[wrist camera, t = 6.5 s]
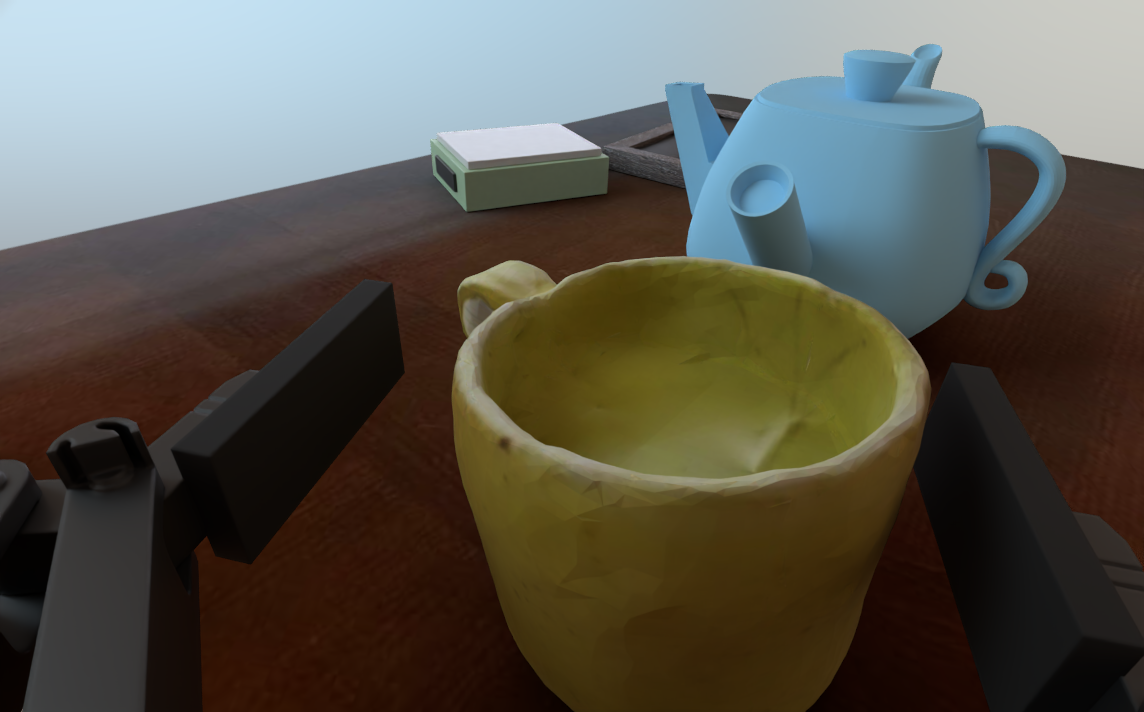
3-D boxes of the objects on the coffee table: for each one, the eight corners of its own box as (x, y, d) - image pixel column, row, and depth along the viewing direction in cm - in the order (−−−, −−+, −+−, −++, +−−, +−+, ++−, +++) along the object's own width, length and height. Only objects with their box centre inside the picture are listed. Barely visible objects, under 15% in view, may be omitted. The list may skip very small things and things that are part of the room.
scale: (463, 212, 40) (460, 164, 38) (430, 174, 46) (426, 132, 44) (607, 193, 43) (609, 149, 42) (559, 160, 49) (560, 121, 48)
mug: (1035, 613, 15) (1055, 222, 10) (687, 938, 12) (467, 641, 7) (703, 403, 25) (629, 160, 20) (477, 556, 22) (325, 322, 17)
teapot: (640, 243, 36) (662, 22, 30) (871, 245, 37) (939, 31, 31) (699, 410, 24) (758, 88, 17) (1047, 407, 25) (1222, 99, 18)
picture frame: (766, 209, 42) (850, 152, 54) (772, 179, 41) (856, 128, 53) (601, 167, 48) (709, 124, 61) (603, 140, 47) (712, 102, 59)
